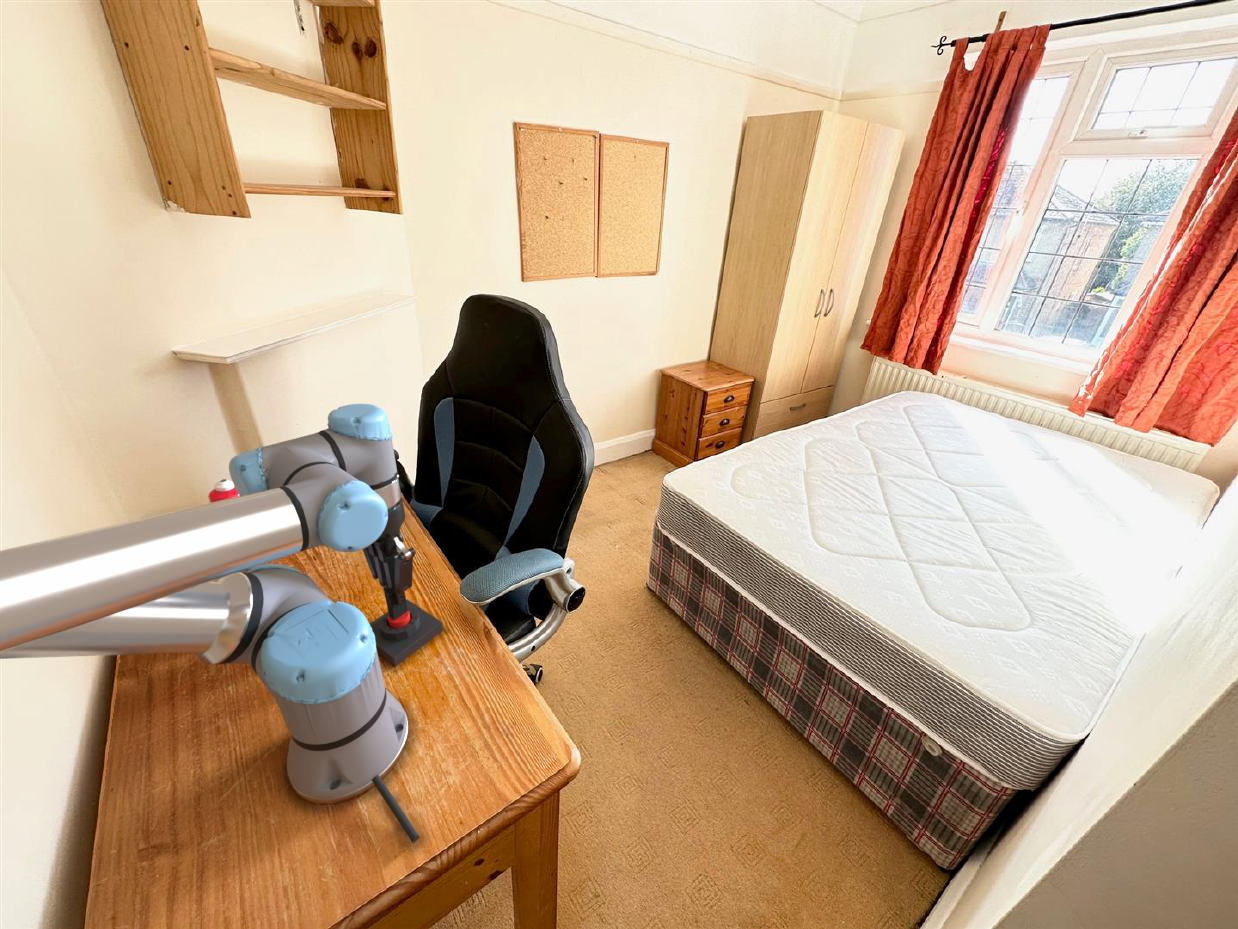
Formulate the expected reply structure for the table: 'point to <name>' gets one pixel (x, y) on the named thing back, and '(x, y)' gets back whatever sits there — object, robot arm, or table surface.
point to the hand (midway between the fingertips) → (398, 613)
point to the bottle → (223, 491)
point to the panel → (404, 634)
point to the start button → (399, 621)
